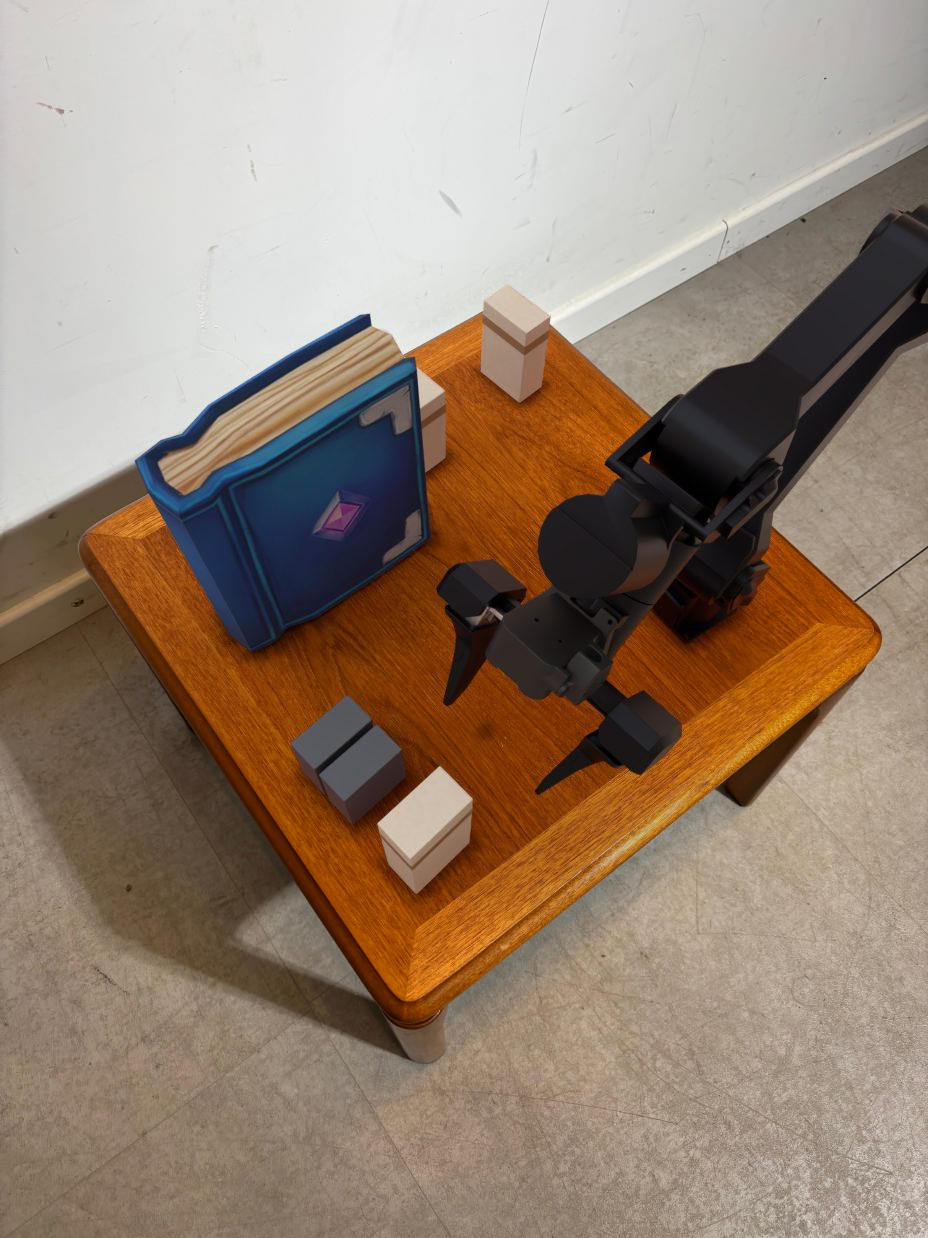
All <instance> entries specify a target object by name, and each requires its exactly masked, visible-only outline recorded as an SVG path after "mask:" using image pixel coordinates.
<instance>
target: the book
mask: <svg viewBox="0 0 928 1238" xmlns="http://www.w3.org/2000/svg"><path fill="white" fill-rule="evenodd" d="M402 352H403V351H401V349H400V346H399V345H398V343H397V341H396V339H395V337H394V336H393V334H391V333H389V332H387V331H384V330H381V329H379V328H377V327H375V326H373V323H372V318H371V313H364V314H363V313H362V314H358V315H357V316H355V317H353V318H351V319H349V320H348V321H346V322H344V323H343V324H341V325H339V326H337V327H335V328H333V329H332V330H330V331H328V332H326V333H325V334H322V335H321V336H319V337H318V338H315V339H314V340H312V341H310V342H309V343H306V344H305V345H303V346H301V347H299V348H297V349H296V350H293V351H292V352H290V353H289V354H287V355H285V356H283V357H282V358H280V359H279V360H277V361H275V362H274V363H272V364H271V365H269V366H267V367H266V368H265V369H263V370H261V371H259V372H258V373H256V374H254V375H253V376H251V377H250V378H249V379H247V380H245V381H244V382H242V383H240V384H239V385H237V386H236V387H234V388H233V389H231V390H230V391H227V392H226V393H224V394H223V395H222V396H219V397H218V398H216V399H214V400H213V401H212V402H210V403H209V404H207V405H206V406H205V407H204V409H202V410H201V412H200V413H198V415H197V416H196V417H195V418H194V420H192V422H190V424H189V425H188V426H187V428H185V429H184V430H183V431H182V432H181V433H179V434H176V435H173V436H169V437H166V438H163V439H160V440H159V441H157V442H156V443H155V444H153V445H152V446H151V447H150V448H149V449H147V450H145V452H143V453H142V454H141V455H140V456H138V457H137V458H136V459H134V464H135V466H136V468H137V470H138V473H139V475H140V477H141V479H142V482H143V484H144V486H145V489H146V492H147V493H148V495H149V497H150V499H151V500H152V502H153V504H154V506H155V508H156V509H157V512H158V513H159V515H160V516H161V518H162V519H163V521H164V524H165V525H166V527H167V528H168V530H169V532H170V534H171V536H172V538H173V539H174V541H175V543H176V545H177V546H178V547H179V549H180V551H181V553H182V554H183V556H184V558H185V560H186V562H187V564H188V565H189V567H190V568H191V570H192V572H193V574H194V576H195V577H196V579H197V581H198V583H199V585H200V586H201V588H202V590H203V591H204V593H205V595H206V597H207V598H208V601H209V602H210V604H211V605H212V607H213V609H214V611H215V612H216V614H217V616H218V618H219V620H220V621H221V623H222V625H223V626H224V628H225V630H226V632H227V634H228V635H229V636H230V637H231V638H233V639H234V640H235V641H236V642H238V643H239V644H240V645H242V647H244V648H246V649H247V650H248V651H249V652H250V653H252V654H254V653H255V652H256V653H257V652H258V651H260V650H262V649H263V648H265V647H267V646H269V645H271V644H274V643H276V642H277V641H278V640H279V639H280V638H281V636H282V635H283V634H284V633H285V632H286V630H287V629H288V628H292V627H294V626H297V625H300V624H303V623H306V622H309V621H312V620H315V619H317V618H319V617H320V616H322V615H323V614H325V613H326V612H328V611H329V610H331V609H332V608H334V607H335V606H336V605H338V604H340V603H342V602H343V601H344V600H346V599H347V598H349V597H350V596H352V595H353V594H355V593H356V592H358V591H359V590H361V589H362V588H364V587H365V586H367V585H369V584H370V583H372V582H373V581H374V580H376V579H378V578H380V576H382V575H383V574H384V573H386V572H387V571H388V570H390V569H391V568H392V567H394V566H395V565H397V564H398V563H399V562H401V561H402V560H404V559H406V557H408V556H409V555H411V554H412V553H414V552H415V551H416V550H417V549H419V548H421V546H423V545H425V544H426V543H427V542H428V541H430V540H431V539H432V537H431V524H430V512H429V511H430V510H429V501H428V499H429V498H428V487H427V476H426V473H425V462H424V449H423V437H422V425H421V412H420V400H419V388H418V376H417V368H418V367H417V359H416V356H410V357H405V356H404V354H403V353H402ZM404 357H405V358H404Z"/></svg>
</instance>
